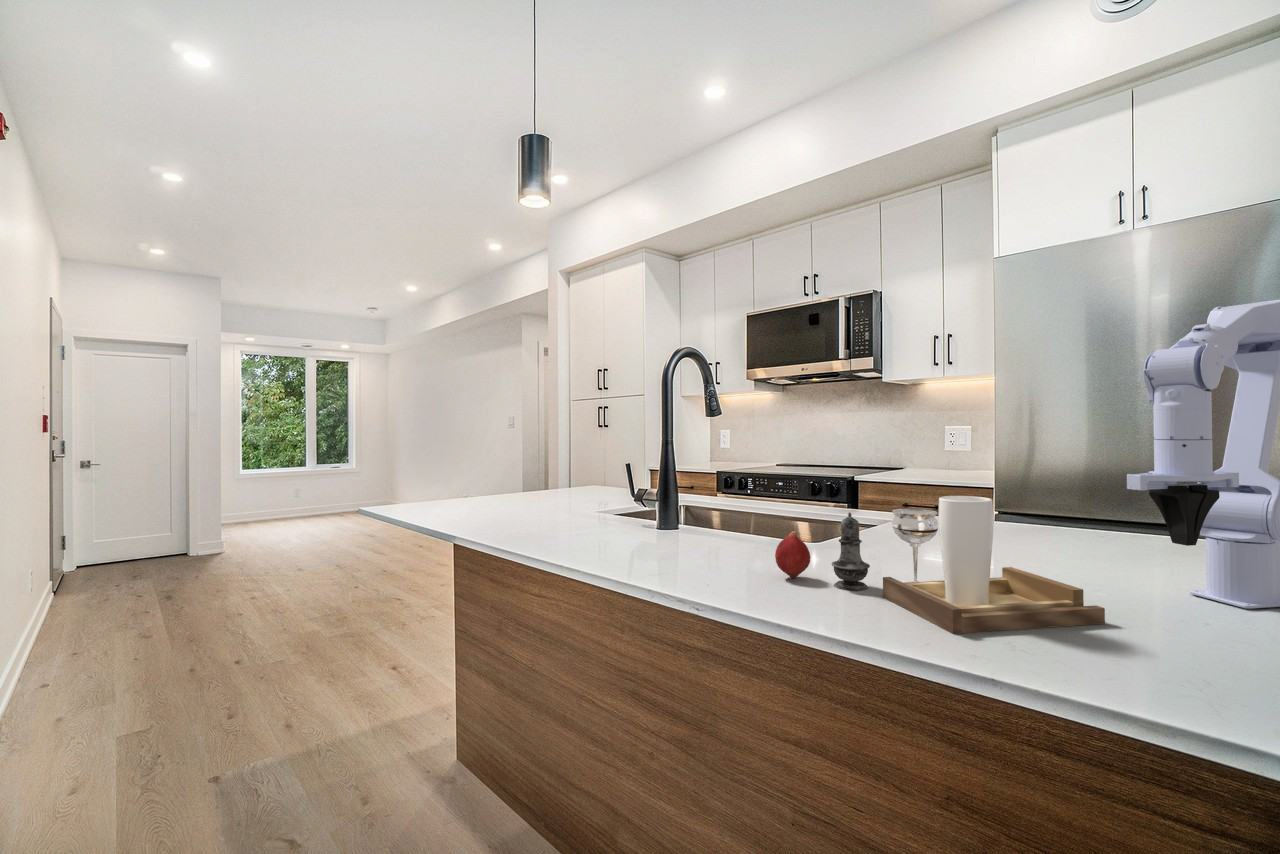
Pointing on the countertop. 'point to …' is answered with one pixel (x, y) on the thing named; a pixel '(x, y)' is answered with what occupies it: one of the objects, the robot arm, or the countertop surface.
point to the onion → (792, 555)
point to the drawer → (1015, 593)
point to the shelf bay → (985, 621)
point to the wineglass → (915, 529)
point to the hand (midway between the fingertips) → (1183, 544)
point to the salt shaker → (850, 558)
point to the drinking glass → (966, 548)
